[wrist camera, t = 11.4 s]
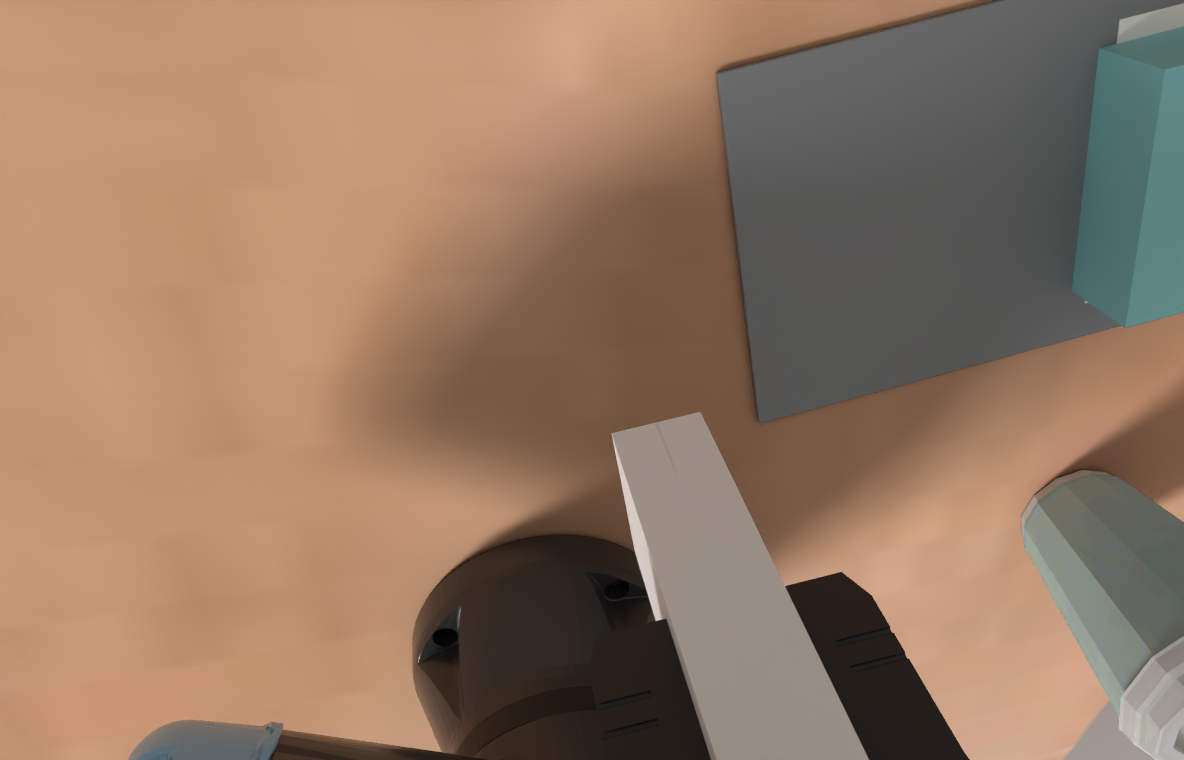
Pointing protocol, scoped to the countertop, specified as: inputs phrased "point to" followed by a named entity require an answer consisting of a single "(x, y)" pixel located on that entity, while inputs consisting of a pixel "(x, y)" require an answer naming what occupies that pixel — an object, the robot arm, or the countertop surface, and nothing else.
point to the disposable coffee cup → (1118, 596)
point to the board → (916, 194)
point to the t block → (1135, 183)
